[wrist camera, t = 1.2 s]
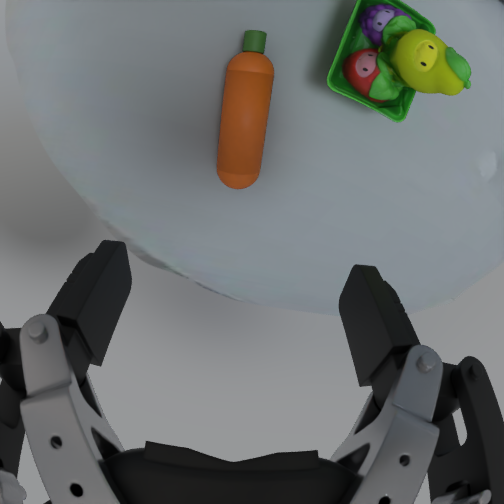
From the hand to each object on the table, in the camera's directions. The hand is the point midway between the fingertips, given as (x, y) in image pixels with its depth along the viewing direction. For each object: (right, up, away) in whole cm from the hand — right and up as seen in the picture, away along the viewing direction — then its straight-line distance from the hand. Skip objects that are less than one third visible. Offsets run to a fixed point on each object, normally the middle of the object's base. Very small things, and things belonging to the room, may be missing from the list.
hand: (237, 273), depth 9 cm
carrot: (0, +13, +14) cm, 20 cm away
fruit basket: (+12, +20, +10) cm, 25 cm away
